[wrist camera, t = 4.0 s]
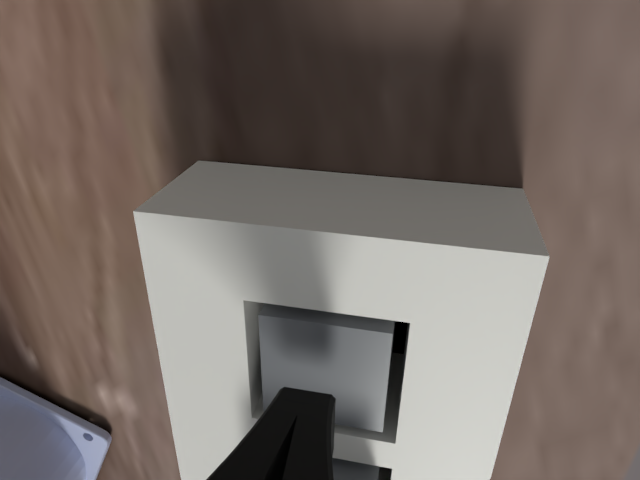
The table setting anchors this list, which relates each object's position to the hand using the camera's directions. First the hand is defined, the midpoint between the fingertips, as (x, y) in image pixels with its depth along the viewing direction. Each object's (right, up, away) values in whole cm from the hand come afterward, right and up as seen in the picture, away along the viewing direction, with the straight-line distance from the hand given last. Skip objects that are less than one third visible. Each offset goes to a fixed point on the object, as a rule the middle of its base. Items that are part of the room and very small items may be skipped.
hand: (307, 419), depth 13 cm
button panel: (+1, -2, +7) cm, 8 cm away
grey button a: (+1, +3, +5) cm, 5 cm away
